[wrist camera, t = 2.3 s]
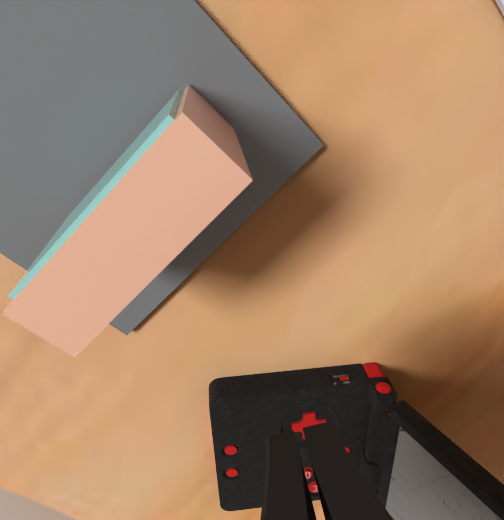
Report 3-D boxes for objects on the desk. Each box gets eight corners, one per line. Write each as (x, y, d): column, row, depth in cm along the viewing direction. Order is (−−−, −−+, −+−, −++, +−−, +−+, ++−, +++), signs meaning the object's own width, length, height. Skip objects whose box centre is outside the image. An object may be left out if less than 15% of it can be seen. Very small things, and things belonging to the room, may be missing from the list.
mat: (321, 142, 17) (323, 145, 16) (128, 329, 20) (126, 335, 20) (-14, -231, 11) (-21, -240, 11) (-210, 108, 14) (-220, 109, 14)
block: (234, 129, 16) (252, 180, 10) (116, 253, 18) (75, 357, 12) (186, 80, 15) (176, 106, 9) (66, 217, 17) (-5, 311, 11)
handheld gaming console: (207, 374, 22) (212, 601, 13) (434, 351, 23) (582, 548, 14) (220, 491, 26) (230, 720, 17) (410, 467, 27) (511, 674, 18)
